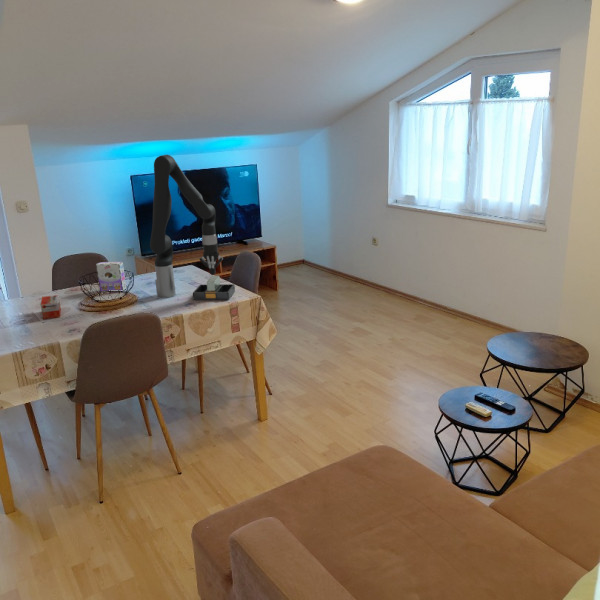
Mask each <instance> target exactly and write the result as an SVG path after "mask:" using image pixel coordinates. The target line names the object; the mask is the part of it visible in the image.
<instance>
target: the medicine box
mask: <svg viewBox="0 0 600 600" xmlns="http://www.w3.org/2000/svg"><path fill="white" fill-rule="evenodd" d="M40 309H41V314H42V320H49V319H57V318H61V311H62V308H61V301H60V296H59V294H55V295H48V296H47V295H46V296H42V297H41V302H40Z"/></svg>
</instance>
